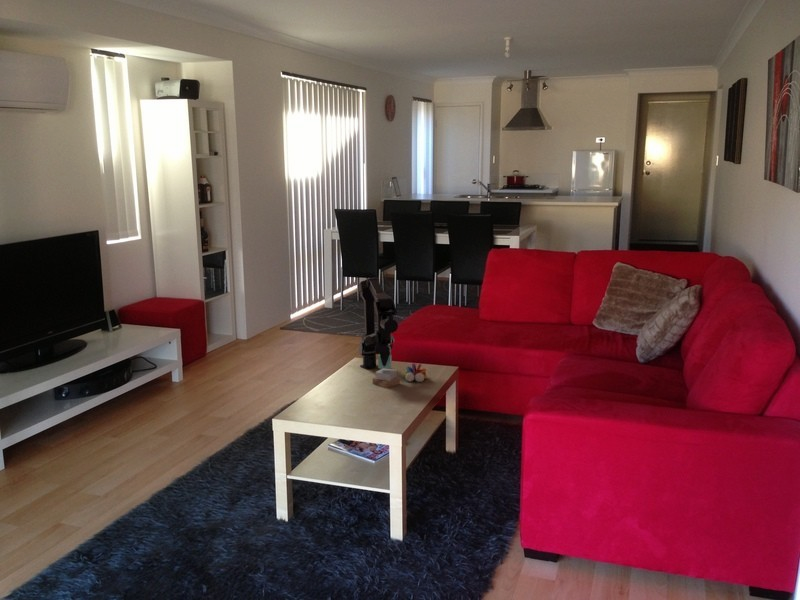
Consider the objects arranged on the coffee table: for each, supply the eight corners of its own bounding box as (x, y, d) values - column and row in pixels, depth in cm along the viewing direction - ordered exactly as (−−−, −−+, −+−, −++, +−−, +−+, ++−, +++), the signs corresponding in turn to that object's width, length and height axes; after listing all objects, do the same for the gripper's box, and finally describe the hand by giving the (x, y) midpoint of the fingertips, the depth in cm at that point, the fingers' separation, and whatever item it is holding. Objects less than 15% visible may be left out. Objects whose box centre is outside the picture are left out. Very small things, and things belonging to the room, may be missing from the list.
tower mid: (375, 379, 293) (375, 372, 292) (383, 374, 298) (382, 368, 298) (389, 381, 290) (389, 374, 289) (396, 376, 295) (396, 369, 295)
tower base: (372, 385, 295) (372, 378, 294) (386, 380, 300) (386, 374, 299) (385, 389, 289) (385, 382, 288) (399, 384, 294) (399, 377, 294)
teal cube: (378, 368, 291) (378, 356, 290) (379, 364, 296) (379, 353, 295) (390, 368, 290) (390, 356, 290) (391, 365, 295) (391, 353, 294)
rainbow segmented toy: (425, 383, 294) (425, 366, 293) (402, 382, 296) (402, 365, 295) (428, 377, 303) (428, 361, 301) (405, 376, 304) (405, 360, 303)
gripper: (368, 322, 300) (368, 357, 303) (361, 332, 282) (362, 370, 285) (394, 322, 299) (394, 358, 302) (389, 333, 281) (390, 370, 284)
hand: (384, 364), depth 293 cm, fingers closed on teal cube, 5 cm apart
